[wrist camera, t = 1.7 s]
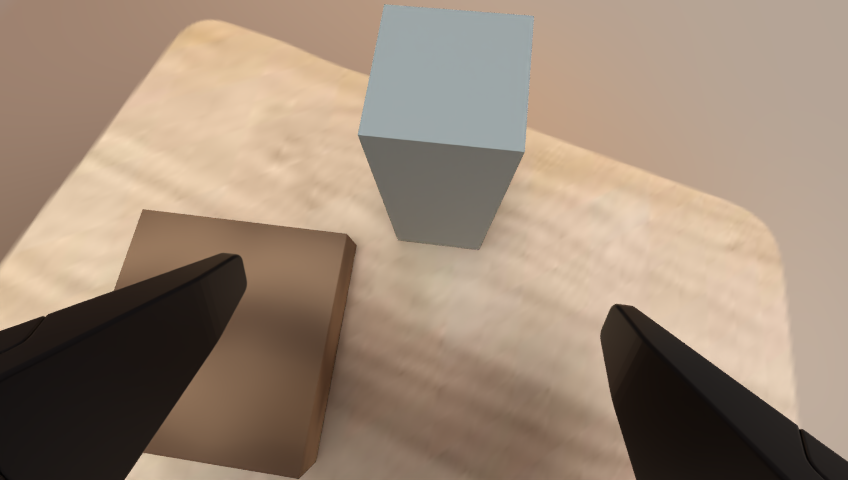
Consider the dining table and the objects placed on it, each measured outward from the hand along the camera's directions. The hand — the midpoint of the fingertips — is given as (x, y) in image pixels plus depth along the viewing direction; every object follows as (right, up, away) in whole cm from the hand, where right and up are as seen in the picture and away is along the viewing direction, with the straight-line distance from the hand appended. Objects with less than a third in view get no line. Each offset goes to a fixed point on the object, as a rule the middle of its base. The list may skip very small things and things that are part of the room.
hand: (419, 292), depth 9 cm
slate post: (+1, +3, +14) cm, 15 cm away
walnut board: (-11, -4, +13) cm, 17 cm away
